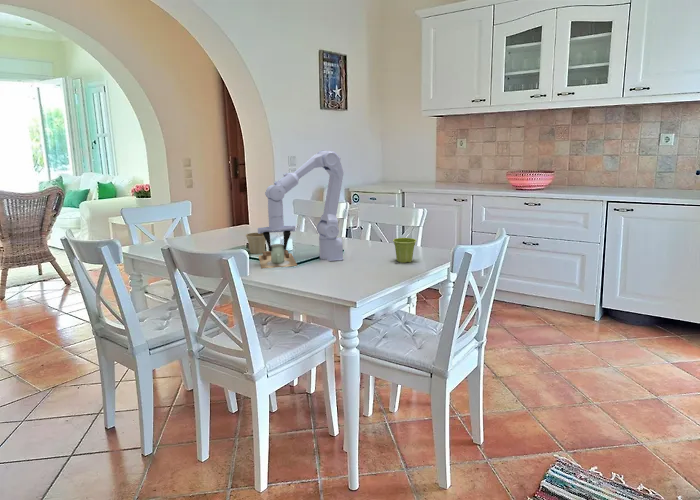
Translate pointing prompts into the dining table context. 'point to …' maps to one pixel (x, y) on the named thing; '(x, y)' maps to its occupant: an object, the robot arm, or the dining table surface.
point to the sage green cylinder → (277, 253)
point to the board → (266, 263)
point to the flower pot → (256, 242)
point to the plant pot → (404, 249)
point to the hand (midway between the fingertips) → (277, 250)
